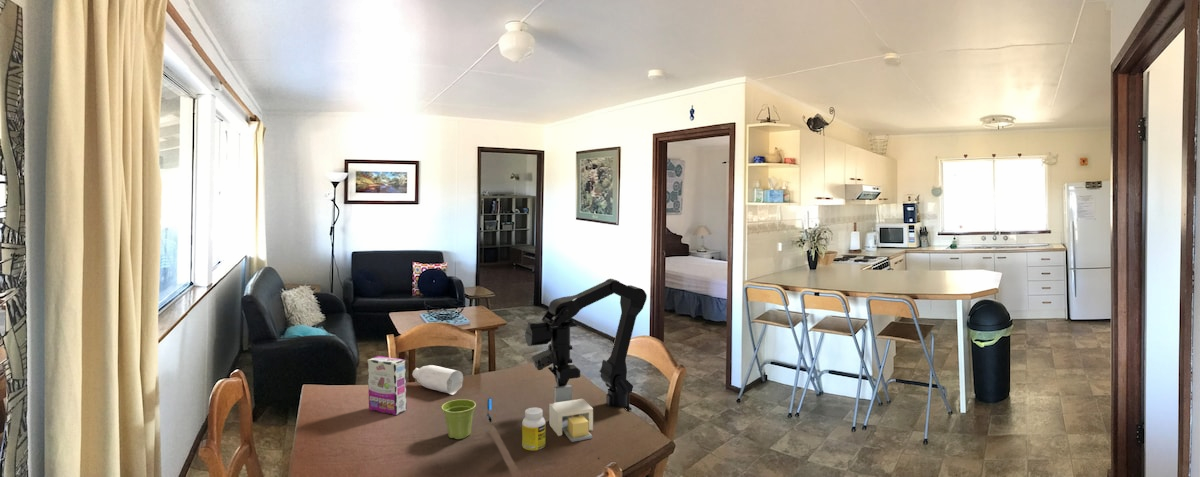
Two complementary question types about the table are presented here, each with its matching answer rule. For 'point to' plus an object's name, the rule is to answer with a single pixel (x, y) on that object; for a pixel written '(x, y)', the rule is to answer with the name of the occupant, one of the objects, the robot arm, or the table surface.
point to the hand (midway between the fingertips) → (560, 392)
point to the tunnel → (569, 413)
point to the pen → (490, 409)
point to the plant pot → (459, 417)
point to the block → (578, 426)
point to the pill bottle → (533, 429)
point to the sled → (566, 395)
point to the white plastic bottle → (439, 378)
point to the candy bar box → (387, 385)
